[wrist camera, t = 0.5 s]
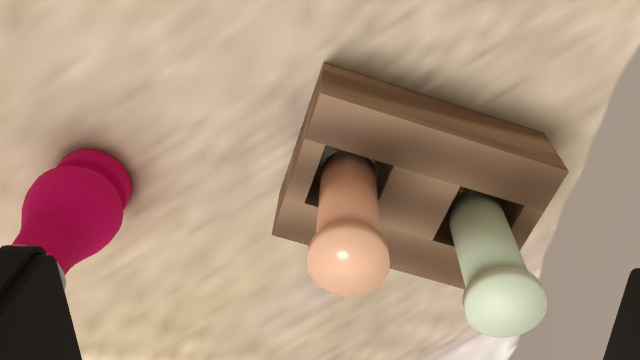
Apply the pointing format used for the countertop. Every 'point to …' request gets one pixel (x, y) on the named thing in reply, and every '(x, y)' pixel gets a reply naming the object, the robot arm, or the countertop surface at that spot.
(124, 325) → the countertop surface
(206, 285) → the countertop surface
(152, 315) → the countertop surface
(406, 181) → the socket block
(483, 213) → the green plug
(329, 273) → the peach peg
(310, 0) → the countertop surface
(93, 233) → the pepper mill
